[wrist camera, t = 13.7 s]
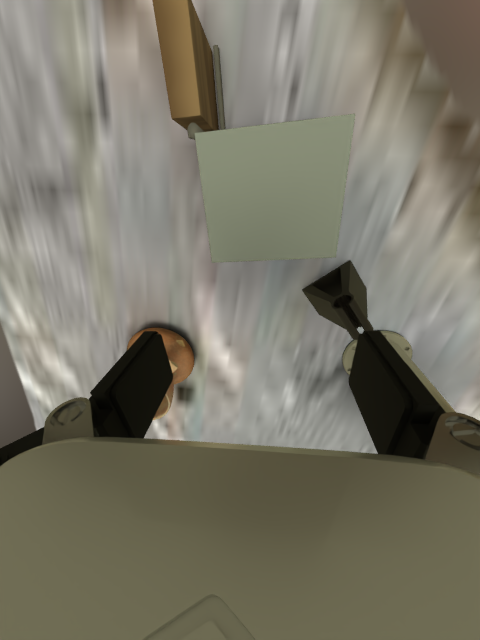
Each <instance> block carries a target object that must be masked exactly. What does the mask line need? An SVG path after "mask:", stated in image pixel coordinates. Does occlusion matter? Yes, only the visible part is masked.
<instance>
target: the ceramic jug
mask: <svg viewBox="0 0 480 640" xmlns="http://www.w3.org/2000/svg"><path fill="white" fill-rule="evenodd" d="M144 331H157V332H158V333H159V334H161V335H162V338H163V342H164V345H165V349H166V352H167V355H168V359H169V362H170V366H171V369H172V373H173V380H172V383H171V385H170V387H169V389H168V391H167V393H166V395H165V397H164V398H163V400H162V402H161V404H160V406H159V408H158V410H157V412H156V414H155V416H154V418H153V420H156V419H159V418H161V417H163V416H164V415H165V414H166V413H167V412H168V411H169V409H170V406H171V403H172V398H173V390H174V384H177V383H179V382H181V381H183V380H185V379H186V378H187V377H188V376H189V375H190V374H191V372H192V370H193V367H194V355H193V351H192V349H191V347H190V346H189V344H188V343H187V342H186V340H185V339H184V338H182V337H181V336H180V335H178V334H177V333H175V332H173V331H170V330H167V329H164V328H148V329H144V330H142V331H139V332H138V333H136V334H135V335H134V336H133V337H132V338H131V339H130V341H129V343H128V346H127V350H128V349H129V348H130V347H131V346H132V345H133V343H134V342H135V341H136V340H137V339H138V338H139V337H140V335H141V334H142V333H143V332H144Z"/></svg>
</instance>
